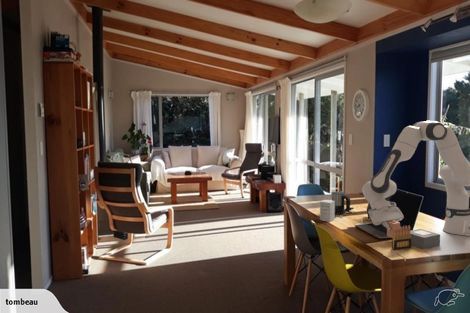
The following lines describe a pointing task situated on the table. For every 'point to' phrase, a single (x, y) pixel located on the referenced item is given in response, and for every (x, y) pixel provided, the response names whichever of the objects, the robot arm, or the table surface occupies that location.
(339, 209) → the milk frother
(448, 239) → the table surface
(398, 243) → the ammunition clip
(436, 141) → the robot arm
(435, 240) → the base block
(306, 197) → the table surface
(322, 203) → the supplement box
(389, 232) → the block
